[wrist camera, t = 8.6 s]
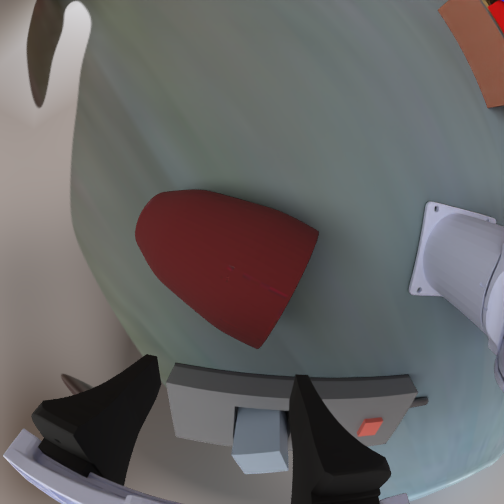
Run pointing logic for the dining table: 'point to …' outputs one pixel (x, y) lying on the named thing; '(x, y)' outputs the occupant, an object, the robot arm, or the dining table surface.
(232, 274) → the mug
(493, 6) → the blue-topped brown box
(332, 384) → the power strip
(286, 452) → the block
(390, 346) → the dining table surface
